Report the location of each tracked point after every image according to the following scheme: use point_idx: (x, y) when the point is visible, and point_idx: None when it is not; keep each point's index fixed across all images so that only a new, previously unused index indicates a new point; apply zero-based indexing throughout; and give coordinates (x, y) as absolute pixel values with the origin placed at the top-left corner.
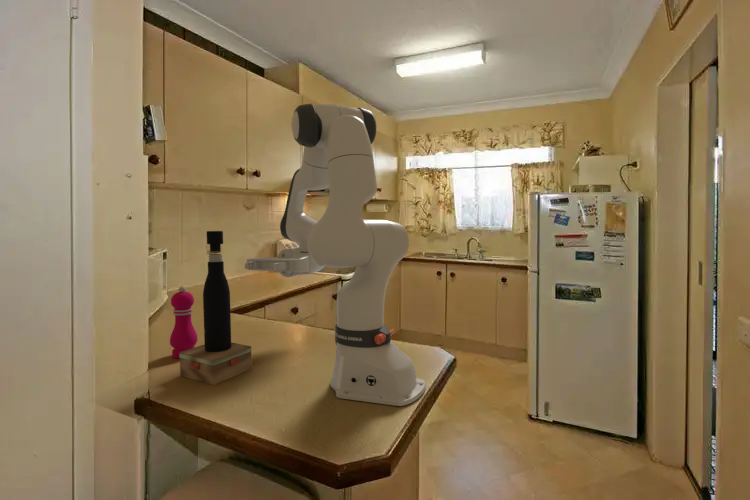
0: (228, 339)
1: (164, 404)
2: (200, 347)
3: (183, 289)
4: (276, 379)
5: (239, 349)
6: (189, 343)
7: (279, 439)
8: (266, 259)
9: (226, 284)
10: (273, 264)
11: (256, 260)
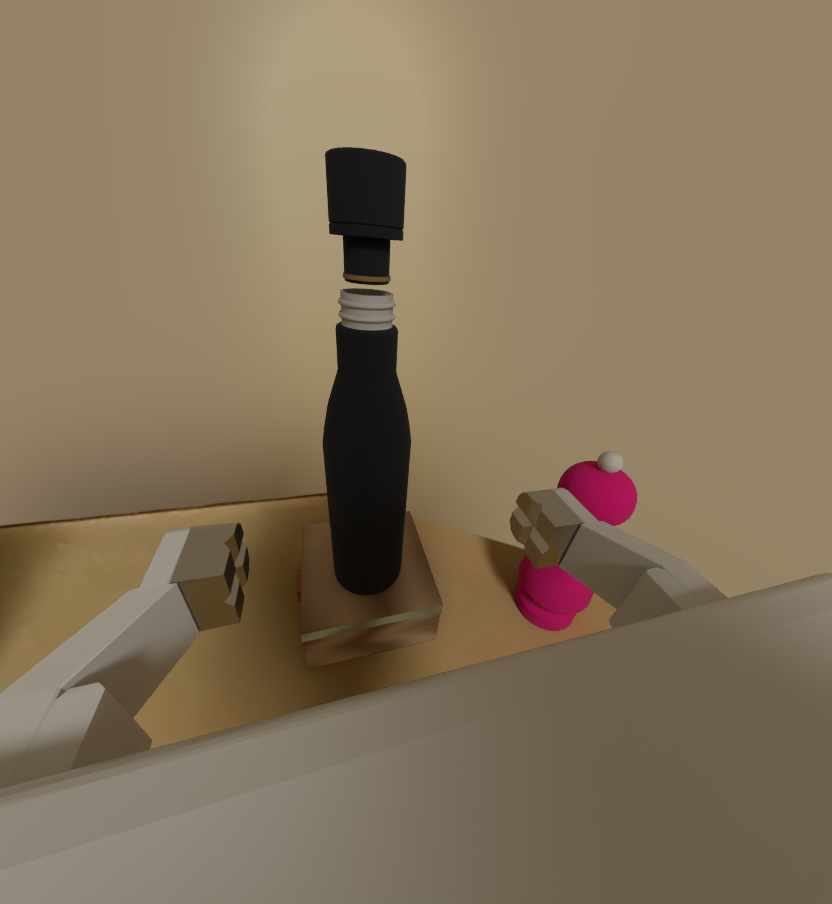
0: (334, 558)
1: (316, 496)
2: (409, 545)
3: (598, 460)
4: (181, 670)
5: (308, 594)
6: (520, 578)
7: (58, 528)
8: (555, 648)
9: (328, 418)
10: (179, 528)
11: (698, 607)
